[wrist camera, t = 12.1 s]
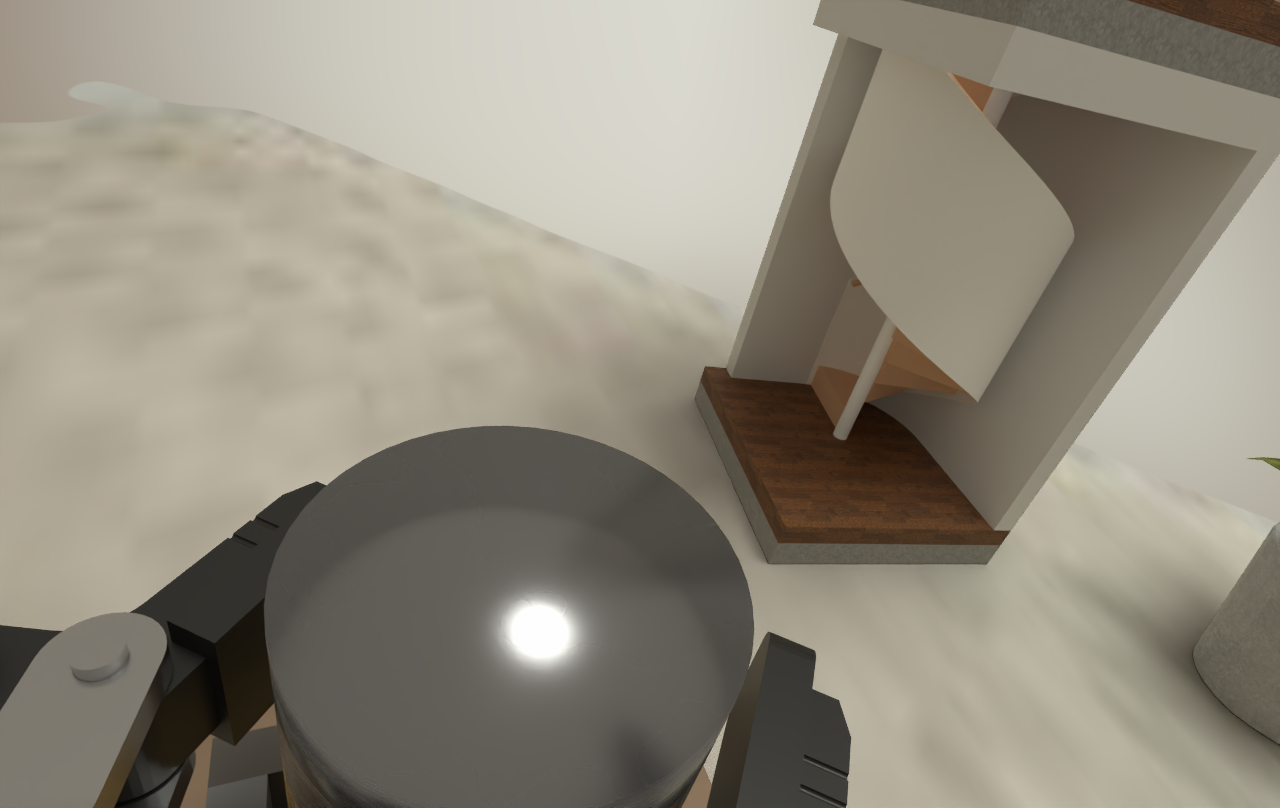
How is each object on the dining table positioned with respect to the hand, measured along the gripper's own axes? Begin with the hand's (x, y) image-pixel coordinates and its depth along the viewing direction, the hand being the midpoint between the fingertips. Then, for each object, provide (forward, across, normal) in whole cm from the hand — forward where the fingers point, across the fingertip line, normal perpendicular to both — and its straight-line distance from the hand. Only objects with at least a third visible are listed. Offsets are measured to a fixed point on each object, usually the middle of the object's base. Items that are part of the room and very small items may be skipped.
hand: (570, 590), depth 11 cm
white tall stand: (+21, +6, -10) cm, 24 cm away
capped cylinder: (-2, 0, -9) cm, 9 cm away
